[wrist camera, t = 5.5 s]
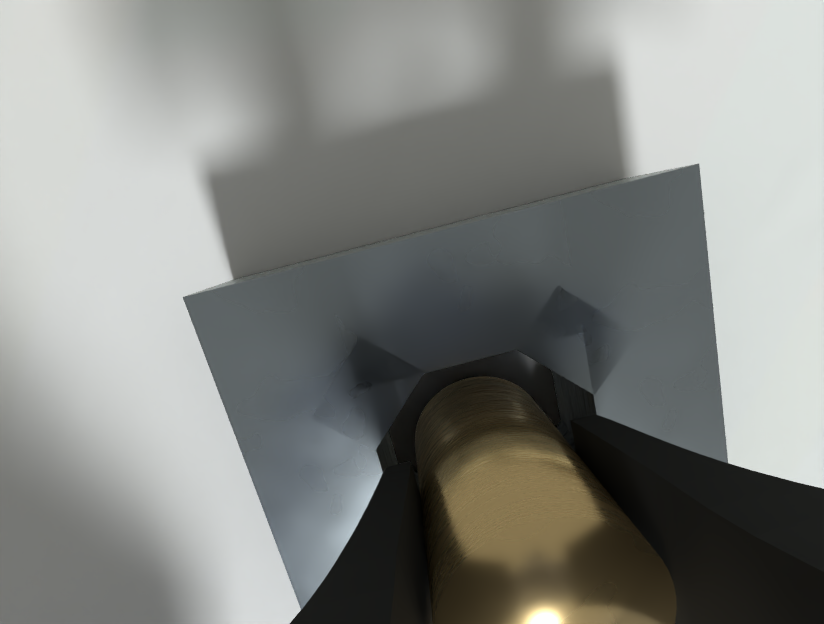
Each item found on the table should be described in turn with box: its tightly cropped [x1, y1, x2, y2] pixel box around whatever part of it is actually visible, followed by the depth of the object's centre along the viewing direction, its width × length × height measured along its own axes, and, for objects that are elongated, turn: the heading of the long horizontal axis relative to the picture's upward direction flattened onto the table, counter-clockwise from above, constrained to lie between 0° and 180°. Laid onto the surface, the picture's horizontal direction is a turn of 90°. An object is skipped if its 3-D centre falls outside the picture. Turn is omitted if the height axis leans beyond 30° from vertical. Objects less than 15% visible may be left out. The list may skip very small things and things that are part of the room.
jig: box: [183, 164, 728, 610], centre depth 12 cm, size 12×12×3 cm
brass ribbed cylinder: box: [415, 376, 677, 624], centre depth 10 cm, size 4×4×6 cm
